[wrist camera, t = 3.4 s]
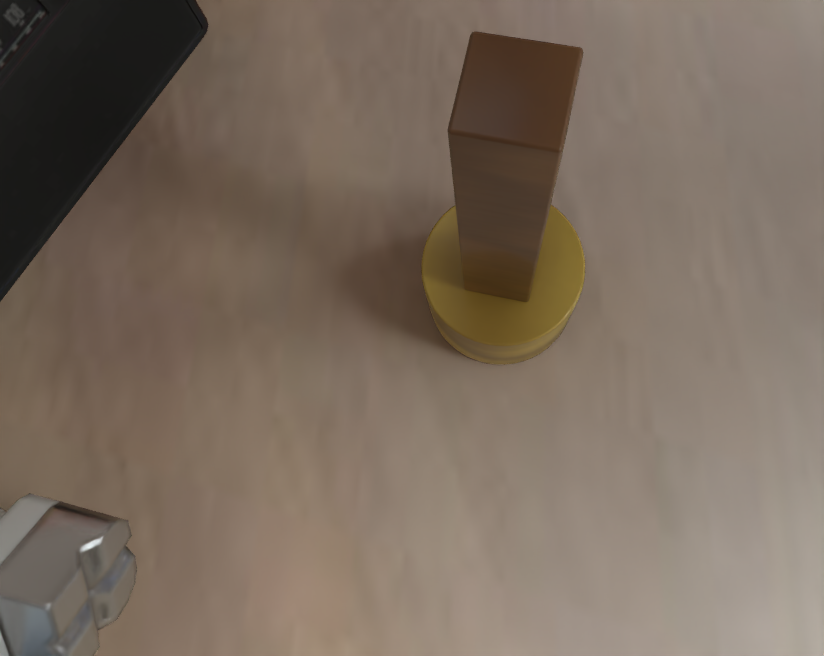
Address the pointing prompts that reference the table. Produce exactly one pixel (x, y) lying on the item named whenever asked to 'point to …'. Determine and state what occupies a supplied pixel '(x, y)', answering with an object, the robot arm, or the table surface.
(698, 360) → the table surface
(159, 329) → the table surface
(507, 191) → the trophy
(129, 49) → the radio
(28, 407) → the table surface
